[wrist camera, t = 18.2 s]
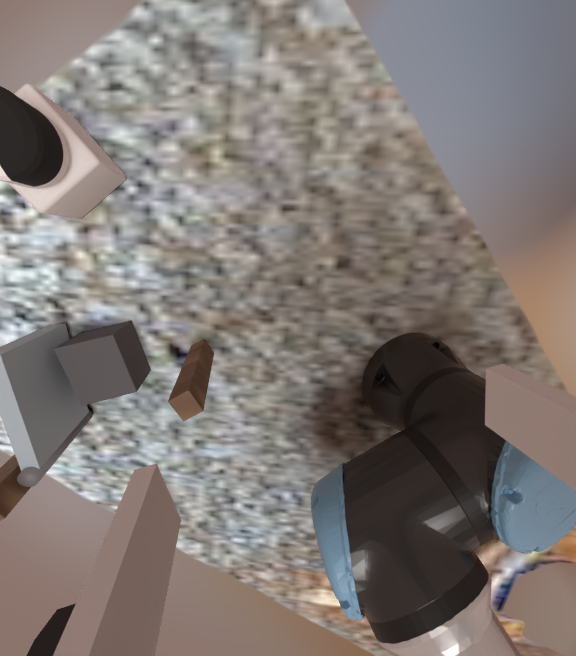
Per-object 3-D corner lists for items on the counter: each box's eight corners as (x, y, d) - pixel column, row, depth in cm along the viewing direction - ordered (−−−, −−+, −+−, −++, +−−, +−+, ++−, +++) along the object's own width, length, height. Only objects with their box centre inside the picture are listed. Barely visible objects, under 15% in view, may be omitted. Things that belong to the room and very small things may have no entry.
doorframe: (213, 353, 39) (203, 410, 26) (58, 437, 39) (-33, 538, 25) (204, 339, 38) (188, 390, 25) (45, 424, 38) (-56, 522, 25)
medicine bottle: (73, 116, 29) (-27, 38, 18) (128, 178, 32) (70, 143, 20) (22, 162, 30) (-108, 113, 18) (80, 220, 32) (-4, 208, 21)
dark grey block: (151, 369, 38) (136, 391, 33) (104, 381, 38) (81, 405, 32) (132, 320, 36) (112, 334, 30) (82, 331, 36) (53, 348, 30)
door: (68, 322, 34) (-4, 357, 24) (93, 419, 38) (41, 485, 28) (41, 324, 34) (-45, 360, 24) (69, 422, 38) (7, 490, 27)
